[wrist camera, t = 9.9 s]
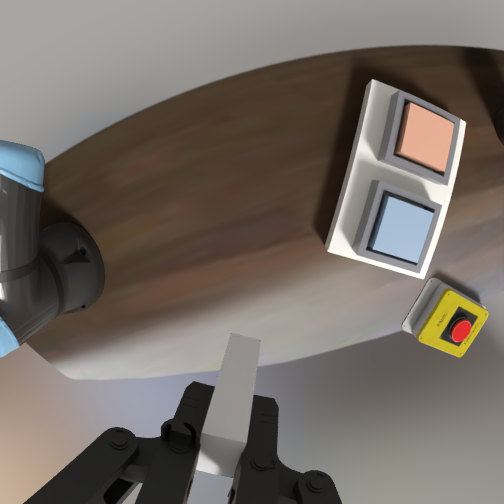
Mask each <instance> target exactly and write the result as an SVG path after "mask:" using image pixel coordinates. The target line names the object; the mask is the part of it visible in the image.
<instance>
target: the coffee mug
mask: <svg viewBox="0 0 504 504" xmlns="http://www.w3.org/2000/svg"><path fill="white" fill-rule="evenodd" d="M495 129H496V132H497V135H498V137H499V139H500V141H501V142H502V144H503V145H504V108H503V109H501V110H499V111H498V112H497V114H496V117H495Z"/></svg>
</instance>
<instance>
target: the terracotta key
mask: <svg viewBox="0 0 504 504" xmlns="http://www.w3.org/2000/svg"><path fill="white" fill-rule="evenodd" d="M453 128H454V123H452V122H450V121H448V120H446V119H444V118H442V117H440V116H438V115H436V114H434V113H432V112H430V111H428V110H426V109H424V108H422V107H420V106H417V105H415V104H413V103H409V104H407V105H405V106H403V111H402V116H401V121H400V126H399V131H398V136H397V140H396V144H395V149H394V153H393V154H396V155H399V156H401V157H404V158H406V159H409V160H411V161H413V162H416V163H418V164H421V165H423V166H425V167H427V168H430V169H432V170H434V171H444V172H445V169H446V164H447V160H448V155H449V150H450V145H451V140H452V134H453Z"/></svg>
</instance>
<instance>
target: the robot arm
mask: <svg viewBox="0 0 504 504" xmlns="http://www.w3.org/2000/svg"><path fill="white" fill-rule="evenodd" d="M44 167H45V160H44V156H43V154H42V153H41V152H40V151H39V150H38V149H36V148H33V147H29V146H26V145H21V144H18V143H13V142H8V141H3V140H0V358H1V357H3V356H5V355H6V354H8V353H9V352H11V351H12V350H14V349H17V348H18V347H19V346H21V345H22V344H23V343H24V342H25V341H27V340H28V339H29V338H30V337H32V336H33V335H34V334H35V333H37V332H38V331H39V330H40V329H42V328H43V327H44V326H46V325H47V324H48V323H49V322H51V321H52V320H53V319H54V318H56V317H57V316H59V315H63V314H68V313H73V312H78V311H82V310H84V309H86V308H88V307H89V306H91V305H92V304H93V303H95V302H96V301H97V300H98V298H99V297H100V295H101V293H102V291H103V287H104V280H105V273H104V265H103V261H102V258H101V255H100V252H99V250H98V248H97V246H96V244H95V242H94V241H93V239H92V238H91V237H90V235H89V234H88V233H87V232H86V231H85V230H84V229H82V228H81V227H80V226H78V225H76V224H74V223H71V222H59V223H56V224H53V225H50V226H48V227H46V228H45V229H44V230H43V231H42V232H41V233H40V234H39V228H40V211H41V201H42V192H44V187H43V178H44ZM259 348H260V340H259V339H255V338H250V337H246V336H241V335H237V334H233V333H231V335H230V339H229V342H228V346H227V349H226V352H225V356H224V359H223V362H222V366H221V369H220V373H219V376H218V379H217V383H216V386H215V387H214V386H210V385H206V384H202V383H199V382H195V381H194V382H192V383H191V384H190V385H189V386H187V387H186V389H185V391H184V394H183V397H182V399H181V401H180V404H179V406H178V408H177V411H176V413H175V416H174V418H173V419H170V420H168V421H166V422H164V424H163V425H162V426H161V436H160V437H156V438H141V437H136V436H135V435H134V434H133V433H132V432H131V431H129V430H127V429H125V428H120V427H115V428H110V429H108V430H106V431H105V432H103V433H102V434H101V435H100V436H99V437H98V438H97V439H96V440H95V441H94V442H93V443H92V444H90V445H89V446H88V447H87V448H86V449H85V450H84V451H83V452H82V453H81V454H79V455H78V456H77V457H76V458H75V459H74V460H73V461H71V462H70V463H69V464H68V465H67V466H66V467H65V468H64V469H63V470H61V471H60V472H59V473H58V474H57V475H56V476H55V477H53V478H52V479H51V480H50V481H49V482H48V483H47V484H45V485H44V486H43V487H42V488H41V489H40V490H38V491H37V492H36V493H35V494H34V495H33V496H31V497H30V498H29V499H28V500H27V501H26V502H24V503H23V504H122V503H123V501H124V500H125V499H126V498H127V497H128V496H129V494H130V493H131V492H132V491H133V490H134V489H135V487H136V486H137V485H138V484H139V483H143V485H142V487H141V490H140V492H139V494H138V497H137V499H136V502H135V504H187V501H188V497H189V494H190V490H191V486H192V483H193V478H194V473H195V470H200V471H204V472H208V473H212V474H217V475H221V476H226V477H231V478H233V477H234V479H233V484H232V487H231V489H230V492H229V494H228V497H229V499H228V504H342V502H341V500H340V497H339V495H338V492H337V490H336V487H335V484H334V482H333V480H332V479H331V477H330V476H329V475H327V474H326V473H324V472H321V471H318V470H317V471H316V470H315V471H314V470H311V471H308V472H305V473H304V474H303V473H300V472H297V471H295V470H292V469H290V468H288V467H286V466H285V465H284V464H282V462H281V461H280V460H279V458H278V456H277V437H278V411H279V409H278V405H277V403H276V402H275V399H274V398H268V397H263V396H258V395H253V394H254V387H255V379H256V371H257V364H258V356H259Z"/></svg>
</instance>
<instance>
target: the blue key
mask: <svg viewBox="0 0 504 504" xmlns="http://www.w3.org/2000/svg"><path fill="white" fill-rule="evenodd" d="M433 215H434V213H432V212H429V211H427V210H424V209H422V208H419V207H417V206H414V205H411V204H409V203H406V202H403V201H401V200H398V199H395V198H392V197H390V196H386V195H382V199H381V202H380V206H379V209H378V213H377V216H376V219H375V222H374V226H373V229H372V232H371V235H370V238H369V241H368V245H369V246H370V247H371V248H372V249H374V250H377V251H380V252H384V253H387V254H390V255H393V256H397V257H400V258H403V259H406V260H409V261H412V262H416V263H418V260H419V257H420V254H421V252H422V249H423V246H424V243H425V240H426V237H427V234H428V231H429V228H430V224H431V221H432V218H433Z"/></svg>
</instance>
